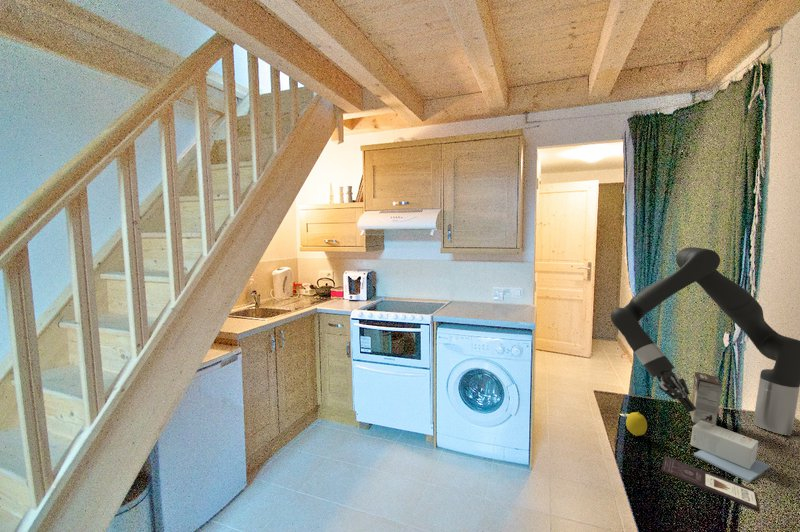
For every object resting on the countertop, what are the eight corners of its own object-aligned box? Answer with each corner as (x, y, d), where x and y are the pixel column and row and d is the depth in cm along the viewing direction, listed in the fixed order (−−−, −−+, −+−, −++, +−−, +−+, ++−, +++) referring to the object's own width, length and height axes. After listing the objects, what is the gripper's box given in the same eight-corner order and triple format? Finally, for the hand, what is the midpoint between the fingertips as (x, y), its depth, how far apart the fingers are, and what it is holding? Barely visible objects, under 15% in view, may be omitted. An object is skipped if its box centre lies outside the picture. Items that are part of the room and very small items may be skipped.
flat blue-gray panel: (715, 443, 106) (716, 442, 106) (770, 467, 96) (770, 465, 96) (693, 455, 99) (693, 453, 99) (749, 482, 89) (749, 480, 89)
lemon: (644, 435, 109) (647, 411, 108) (646, 443, 104) (649, 418, 103) (624, 429, 112) (627, 406, 111) (624, 436, 107) (627, 412, 106)
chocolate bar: (664, 455, 98) (753, 489, 85) (663, 458, 98) (752, 492, 86) (661, 469, 91) (757, 508, 79) (660, 473, 91) (756, 512, 79)
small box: (689, 445, 104) (749, 470, 93) (692, 425, 103) (752, 448, 92) (698, 438, 108) (756, 461, 97) (700, 419, 108) (759, 440, 97)
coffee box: (688, 412, 127) (694, 371, 125) (711, 418, 123) (717, 376, 122) (691, 422, 119) (697, 378, 118) (716, 429, 116) (722, 384, 114)
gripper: (653, 357, 110) (694, 410, 100) (673, 352, 116) (713, 403, 107) (633, 366, 115) (671, 418, 105) (653, 362, 121) (690, 411, 112)
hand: (692, 410), depth 106 cm, fingers closed
